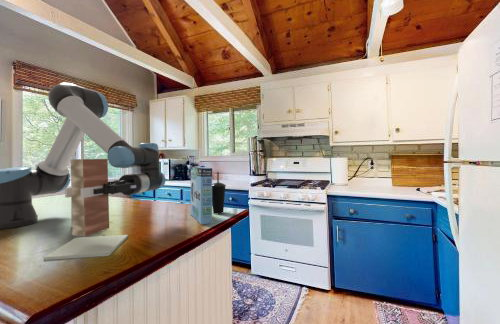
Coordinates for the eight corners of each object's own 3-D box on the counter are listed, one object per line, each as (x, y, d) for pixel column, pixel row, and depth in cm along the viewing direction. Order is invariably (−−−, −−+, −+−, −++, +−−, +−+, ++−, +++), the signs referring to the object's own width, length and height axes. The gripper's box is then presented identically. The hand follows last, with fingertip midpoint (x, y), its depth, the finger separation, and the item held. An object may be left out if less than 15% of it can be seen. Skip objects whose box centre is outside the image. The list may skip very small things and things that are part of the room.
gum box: (190, 214, 114) (189, 166, 114) (201, 213, 117) (200, 166, 116) (200, 225, 97) (200, 168, 96) (213, 223, 99) (212, 167, 99)
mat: (43, 260, 64) (43, 257, 64) (76, 239, 80) (76, 237, 80) (108, 255, 67) (108, 252, 67) (127, 236, 83) (127, 234, 83)
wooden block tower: (72, 235, 70) (70, 159, 70) (96, 227, 78) (94, 159, 77) (86, 236, 69) (84, 159, 68) (109, 228, 77) (107, 158, 76)
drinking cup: (207, 214, 116) (206, 172, 115) (215, 210, 123) (215, 171, 122) (221, 215, 113) (221, 172, 112) (228, 211, 120) (228, 171, 120)
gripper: (154, 194, 88) (99, 207, 66) (114, 193, 93) (50, 205, 70) (154, 174, 88) (99, 180, 66) (113, 173, 93) (49, 179, 70)
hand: (73, 193), depth 68 cm, fingers closed on wooden block tower, 5 cm apart
